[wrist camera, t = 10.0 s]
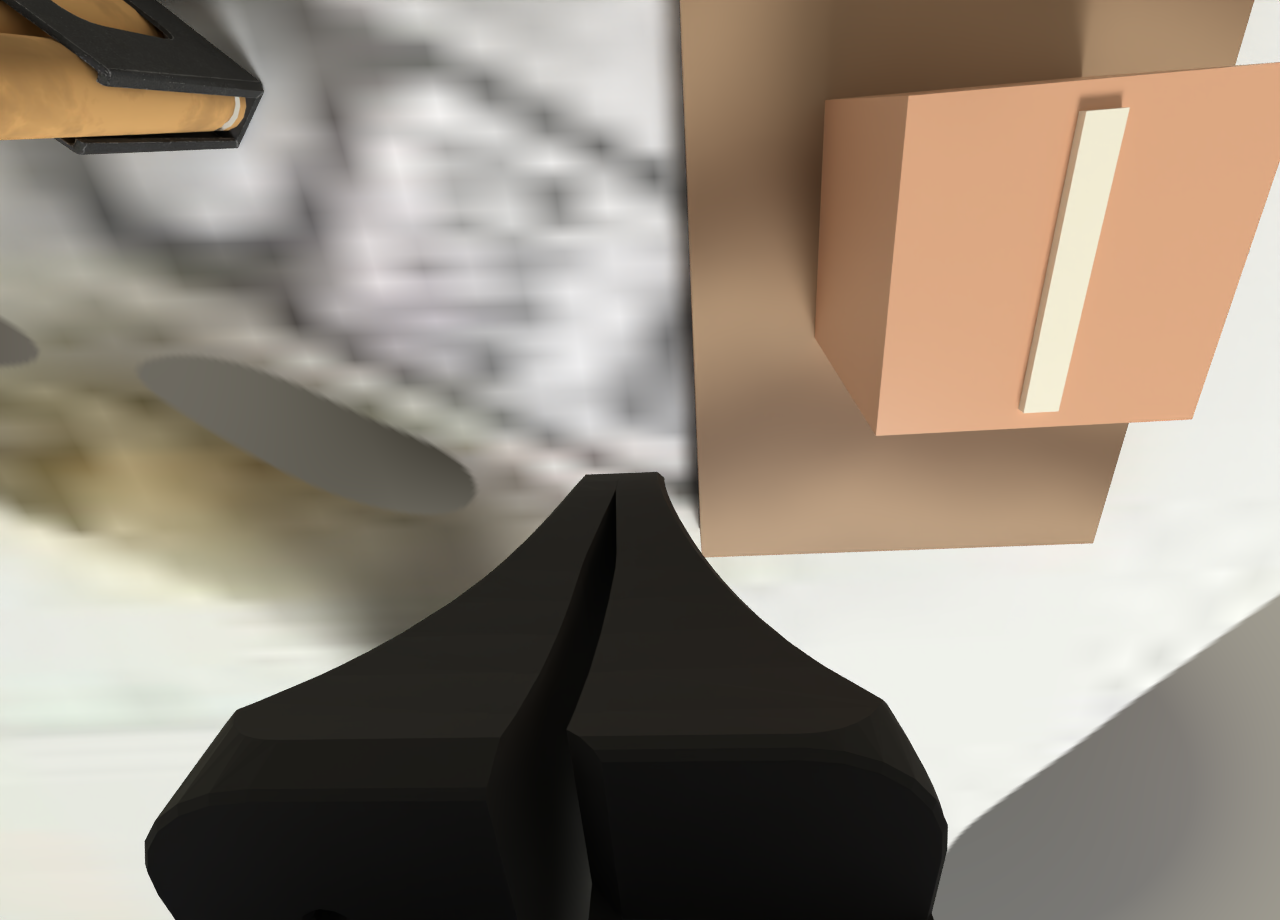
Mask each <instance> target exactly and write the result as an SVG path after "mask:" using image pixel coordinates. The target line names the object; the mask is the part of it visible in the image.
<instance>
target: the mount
mask: <svg viewBox="0 0 1280 920" xmlns="http://www.w3.org/2000/svg"><path fill="white" fill-rule="evenodd" d="M679 3H680V28H681V54H682V79H683V105H684V131H685V156H686V182H687V207H688V233H689V259H690V284H691V310H692V335H693V361H694V387H695V412H696V438H697V463H698V489H699V515H700V536H701V551H702V554H703V556H704V557H727V556H754V555H782V554H809V553H837V552H864V551H892V550H919V549H947V548H975V547H1002V546H1030V545H1057V544H1085V543H1093V541H1094V538H1095V535H1096V531H1097V528H1098V525H1099V521H1100V518H1101V514H1102V511H1103V508H1104V504H1105V501H1106V498H1107V494H1108V491H1109V487H1110V484H1111V481H1112V477H1113V474H1114V471H1115V467H1116V464H1117V461H1118V457H1119V454H1120V450H1121V447H1122V444H1123V440H1124V437H1125V434H1126V430H1127V427H1128V424H1129V423H1112V424H1093V425H1074V426H1055V427H1036V428H1017V429H998V430H979V431H960V432H941V433H922V434H903V435H884V436H876V435H875V434H874V432H873V431H872V429H871V427H870V426H869V424H868V423H867V421H866V419H865V418H864V416H863V415H862V413H861V411H860V410H859V408H858V407H857V405H856V403H855V402H854V400H853V399H852V397H851V395H850V394H849V392H848V391H847V389H846V387H845V386H844V384H843V383H842V381H841V379H840V378H839V376H838V375H837V373H836V371H835V370H834V368H833V367H832V365H831V363H830V362H829V360H828V359H827V357H826V355H825V354H824V352H823V351H822V349H821V347H820V346H819V344H818V343H817V341H816V339H815V338H814V337H815V315H816V293H817V270H818V248H819V225H820V203H821V181H822V158H823V136H824V114H825V100H831V99H842V98H853V97H864V96H876V95H887V94H898V93H909V92H920V91H931V90H942V89H953V88H965V87H976V86H987V85H998V84H1009V83H1020V82H1031V81H1043V80H1054V79H1065V78H1076V77H1088V76H1102V75H1115V74H1128V73H1142V72H1155V71H1168V70H1182V69H1195V68H1208V67H1222V66H1235V63H1236V60H1237V57H1238V53H1239V50H1240V47H1241V43H1242V40H1243V37H1244V33H1245V30H1246V26H1247V23H1248V20H1249V16H1250V13H1251V10H1252V6H1253V3H1254V0H679Z"/></svg>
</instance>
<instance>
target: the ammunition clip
mask: <svg viewBox="0 0 1280 920" xmlns="http://www.w3.org/2000/svg"><path fill="white" fill-rule="evenodd" d="M263 93H264V90H263V88H262V85H261V82H260V81H258V80H257V79H256V78H255V77H253V76H252V75H251V74H249V73H248V72H247V71H246V70H244V69H243V68H242V67H241V66H239V65H238V64H237V63H235V62H234V61H233V60H232V59H230V58H229V57H228V56H226V55H225V54H224V53H223V52H221V51H220V50H219V49H218V48H216V47H215V46H214V45H212V44H211V43H210V42H209V41H207V40H206V39H205V38H203V37H202V36H201V35H200V34H198V33H197V32H196V31H195V30H193V29H192V28H191V27H189V26H188V25H187V24H186V23H184V22H183V21H182V20H180V19H179V18H178V17H177V16H175V15H174V14H173V13H172V12H170V11H169V10H168V9H166V8H165V7H164V6H163V5H161V4H160V3H159V2H157V1H156V0H0V140H16V139H40V138H55V139H56V140H57V141H59V142H60V143H62V144H63V145H65V146H66V147H68V148H69V149H70V150H72V151H73V152H75V153H77V154H80V155H85V154H109V153H132V152H155V151H179V150H202V149H225V148H238V147H239V144H240V142H241V140H242V138H243V136H244V134H245V132H246V129H247V127H248V125H249V123H250V121H251V119H252V116H253V114H254V112H255V110H256V108H257V106H258V103H259V101H260V99H261V97H262V95H263Z"/></svg>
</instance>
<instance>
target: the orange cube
mask: <svg viewBox="0 0 1280 920" xmlns="http://www.w3.org/2000/svg"><path fill="white" fill-rule="evenodd" d="M1279 162H1280V62H1275V63H1262V64H1249V65H1235V66H1222V67H1208V68H1195V69H1182V70H1168V71H1155V72H1142V73H1128V74H1115V75H1102V76H1088V77H1076V78H1065V79H1054V80H1043V81H1031V82H1020V83H1009V84H998V85H987V86H976V87H965V88H953V89H942V90H931V91H920V92H909V93H898V94H887V95H876V96H864V97H853V98H842V99H831V100H825V114H824V136H823V158H822V181H821V203H820V225H819V248H818V270H817V293H816V315H815V337H814V338H815V339H816V341H817V343H818V344H819V346H820V347H821V349H822V351H823V352H824V354H825V355H826V357H827V359H828V360H829V362H830V363H831V365H832V367H833V368H834V370H835V371H836V373H837V375H838V376H839V378H840V379H841V381H842V383H843V384H844V386H845V387H846V389H847V391H848V392H849V394H850V395H851V397H852V399H853V400H854V402H855V403H856V405H857V407H858V408H859V410H860V411H861V413H862V415H863V416H864V418H865V419H866V421H867V423H868V424H869V426H870V427H871V429H872V431H873V432H874V434H875V435H876V436H884V435H903V434H922V433H941V432H960V431H979V430H998V429H1017V428H1036V427H1055V426H1074V425H1093V424H1112V423H1131V422H1150V421H1169V420H1188V419H1192V418H1193V415H1194V412H1195V409H1196V406H1197V403H1198V400H1199V397H1200V394H1201V391H1202V388H1203V385H1204V382H1205V379H1206V376H1207V373H1208V371H1209V368H1210V365H1211V362H1212V359H1213V356H1214V353H1215V350H1216V347H1217V344H1218V341H1219V338H1220V335H1221V332H1222V329H1223V326H1224V323H1225V320H1226V318H1227V315H1228V312H1229V309H1230V306H1231V303H1232V300H1233V297H1234V294H1235V291H1236V288H1237V285H1238V282H1239V279H1240V276H1241V273H1242V270H1243V267H1244V265H1245V262H1246V259H1247V256H1248V253H1249V250H1250V247H1251V244H1252V241H1253V238H1254V235H1255V232H1256V229H1257V226H1258V223H1259V220H1260V217H1261V215H1262V212H1263V209H1264V206H1265V203H1266V200H1267V197H1268V194H1269V191H1270V188H1271V185H1272V182H1273V179H1274V176H1275V173H1276V170H1277V167H1278V164H1279Z"/></svg>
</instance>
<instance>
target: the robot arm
mask: <svg viewBox="0 0 1280 920" xmlns="http://www.w3.org/2000/svg"><path fill="white" fill-rule="evenodd" d="M947 835H948V824H947V822H946V820H945V818H944V815H943V811H942V808H941V805H940V802H939V799H938V797H937V794H936V792H935V789H934V787H933V785H932V783H931V781H930V779H929V777H928V774H927V772H926V770H925V768H924V767H923V765H922V763H921V761H920V759H919V757H918V756H917V754H916V752H915V750H914V748H913V747H912V745H911V743H910V741H909V739H908V738H907V736H906V734H905V733H904V731H903V729H902V728H901V726H900V724H899V723H898V721H897V719H896V718H895V716H894V714H893V713H892V711H891V710H890V708H889V707H888V705H887V704H886V702H885V701H883V700H882V699H881V698H879V697H877V696H875V695H874V694H872V693H870V692H868V691H867V690H865V689H863V688H861V687H860V686H858V685H856V684H854V683H853V682H851V681H849V680H847V679H846V678H844V677H842V676H840V675H839V674H837V673H835V672H834V671H832V670H830V669H828V668H827V667H825V666H823V665H822V664H820V663H819V662H817V661H816V660H814V659H813V658H811V657H810V656H808V655H807V654H806V653H804V652H803V651H801V650H800V649H798V648H797V647H795V646H794V645H793V644H791V643H790V642H788V641H787V640H786V639H785V638H784V637H782V636H781V635H780V634H779V633H778V632H776V631H775V630H774V629H773V628H772V627H770V626H769V625H768V624H767V623H765V622H764V621H763V620H762V619H761V618H759V617H758V616H757V615H756V614H755V613H754V612H753V611H752V610H751V609H750V608H749V607H748V606H747V605H746V604H745V603H744V602H743V601H742V600H741V599H740V598H739V597H738V596H737V595H736V594H735V593H734V592H733V591H732V590H731V589H730V588H729V587H728V585H727V584H726V583H725V582H724V581H723V580H722V579H721V578H720V576H719V575H718V574H717V573H716V572H715V570H714V569H713V568H712V566H711V565H710V564H709V563H708V561H707V560H706V559H705V557H704V556H703V554H702V553H701V552H700V550H699V549H698V548H697V546H696V545H695V543H694V542H693V540H692V539H691V537H690V535H689V534H688V532H687V530H686V529H685V527H684V525H683V524H682V522H681V520H680V519H679V517H678V515H677V513H676V511H675V509H674V507H673V505H672V503H671V501H670V498H669V496H668V493H667V490H666V487H665V483H664V477H662V476H661V475H660V474H659V473H658V472H645V473H619V474H592V475H585V476H584V477H583V478H582V479H581V480H580V482H579V483H578V484H577V485H576V486H575V487H574V488H573V489H572V491H571V492H570V493H569V494H568V495H567V496H566V498H565V499H564V500H563V501H562V502H561V503H560V504H559V506H558V507H557V508H556V509H555V510H554V511H553V512H552V513H551V515H550V516H549V517H548V518H547V519H546V520H545V521H544V522H543V523H542V524H541V525H540V526H539V527H538V528H537V529H536V531H535V532H534V533H533V534H532V535H531V536H530V537H529V538H528V539H527V540H526V541H525V542H524V543H523V544H522V545H520V546H519V547H518V548H517V549H516V550H515V551H514V552H513V553H512V554H511V555H510V556H509V557H508V558H507V559H506V560H505V561H503V562H502V563H501V564H500V565H499V566H498V567H496V568H495V569H494V570H493V571H492V572H490V573H489V574H488V575H487V576H486V577H484V578H483V579H482V580H480V581H479V582H478V583H476V584H475V585H474V586H472V587H471V588H470V589H468V590H467V591H466V592H464V593H463V594H462V595H460V596H459V597H458V598H456V599H455V600H453V601H452V602H451V603H449V604H447V605H446V606H444V607H443V608H441V609H440V610H438V611H436V612H435V613H433V614H432V615H430V616H428V617H427V618H425V619H424V620H422V621H421V622H419V623H417V624H416V625H414V626H413V627H411V628H409V629H408V630H406V631H405V632H403V633H401V634H400V635H398V636H396V637H394V638H393V639H391V640H389V641H387V642H385V643H383V644H382V645H380V646H378V647H376V648H374V649H372V650H371V651H369V652H367V653H365V654H363V655H361V656H359V657H357V658H355V659H353V660H351V661H349V662H347V663H345V664H343V665H341V666H339V667H337V668H334V669H332V670H330V671H328V672H326V673H324V674H322V675H319V676H317V677H315V678H313V679H310V680H308V681H305V682H303V683H301V684H298V685H296V686H294V687H291V688H289V689H287V690H284V691H282V692H279V693H277V694H275V695H272V696H270V697H268V698H265V699H263V700H261V701H258V702H256V703H253V704H251V705H248V706H246V707H243V708H240V709H238V710H236V711H235V713H234V714H233V715H232V716H231V718H230V719H229V720H228V721H227V723H226V724H225V725H224V727H223V728H222V730H221V731H220V732H219V734H218V735H217V736H216V738H215V739H214V741H213V742H212V743H211V745H210V746H209V747H208V749H207V750H206V752H205V753H204V754H203V756H202V757H201V758H200V760H199V761H198V763H197V764H196V765H195V767H194V768H193V769H192V771H191V772H190V774H189V775H188V776H187V778H186V779H185V780H184V782H183V783H182V785H181V786H180V787H179V789H178V790H177V791H176V793H175V794H174V796H173V797H172V798H171V800H170V801H169V802H168V804H167V805H166V807H165V808H164V809H163V811H162V812H161V813H160V815H159V816H158V818H157V819H156V820H155V822H154V824H153V826H152V828H151V830H150V832H149V834H148V836H147V838H146V840H145V865H146V868H147V872H148V874H149V877H150V879H151V881H152V883H153V885H154V887H155V889H156V891H157V893H158V895H159V897H160V898H161V900H162V901H163V903H164V904H165V905H166V907H167V908H168V910H169V911H170V913H171V914H172V916H173V917H174V919H175V920H934V919H933V916H932V909H933V905H934V901H935V897H936V893H937V889H938V885H939V881H940V876H941V873H942V869H943V864H944V861H945V856H946V852H947Z"/></svg>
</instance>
